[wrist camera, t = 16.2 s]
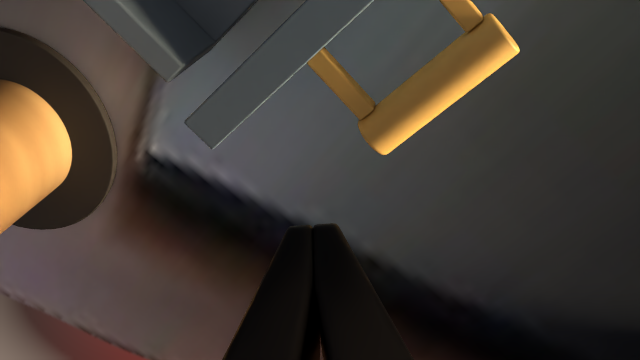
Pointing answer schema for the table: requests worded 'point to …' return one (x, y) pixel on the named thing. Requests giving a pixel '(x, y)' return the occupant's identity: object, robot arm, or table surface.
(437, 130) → the table surface
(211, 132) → the drawer
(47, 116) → the pepper mill
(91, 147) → the coaster
